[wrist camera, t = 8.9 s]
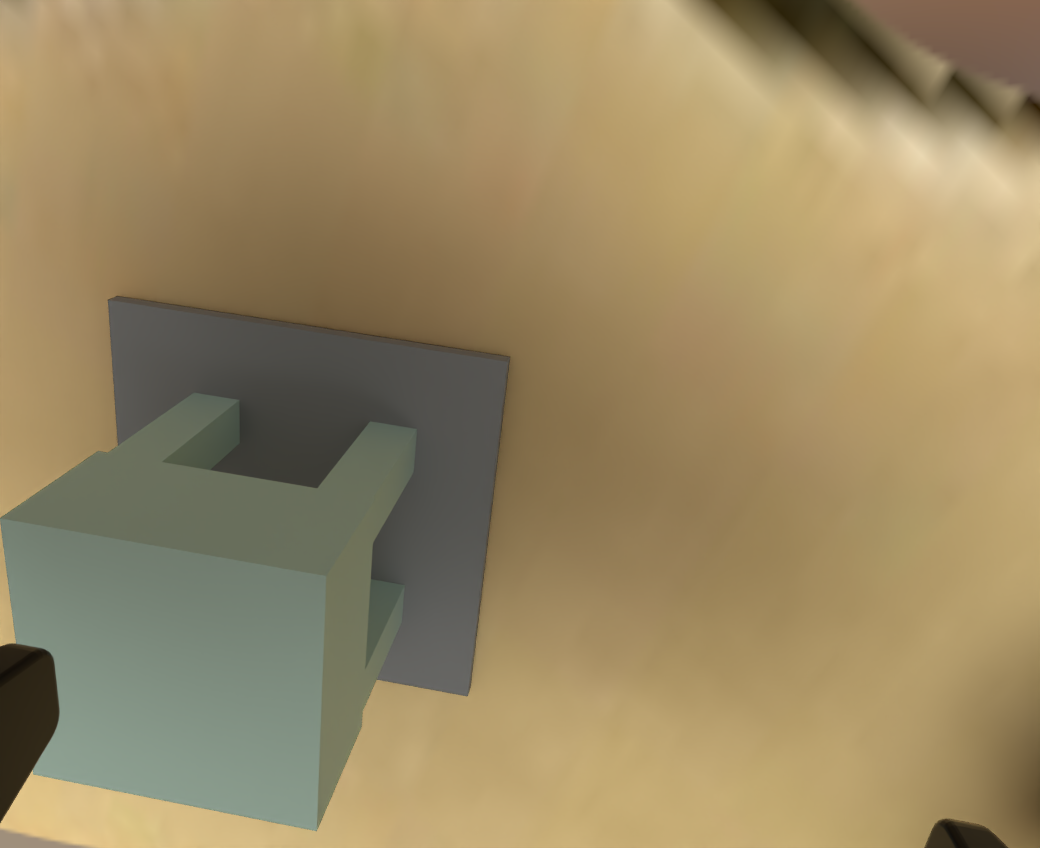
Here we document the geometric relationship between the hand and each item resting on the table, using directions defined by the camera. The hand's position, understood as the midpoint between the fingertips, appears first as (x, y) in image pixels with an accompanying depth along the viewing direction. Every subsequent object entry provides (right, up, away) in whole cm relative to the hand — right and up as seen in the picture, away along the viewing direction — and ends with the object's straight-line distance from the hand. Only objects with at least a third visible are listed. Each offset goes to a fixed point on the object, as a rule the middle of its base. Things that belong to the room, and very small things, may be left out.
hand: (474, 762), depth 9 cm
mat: (-5, +1, +14) cm, 15 cm away
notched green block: (-5, +1, +14) cm, 15 cm away
